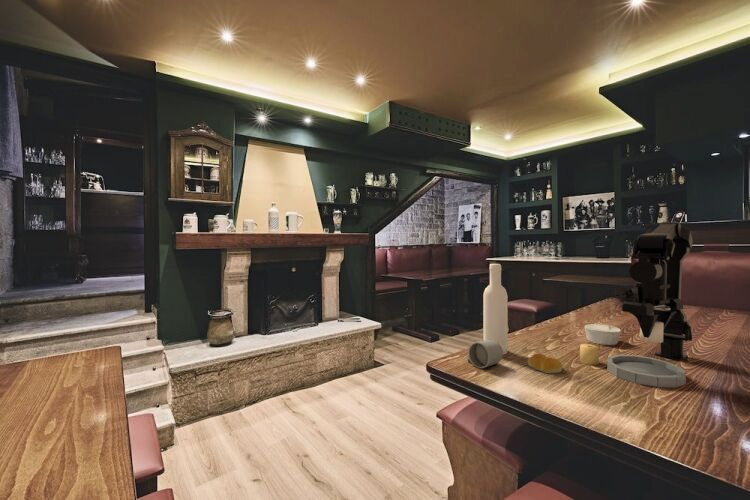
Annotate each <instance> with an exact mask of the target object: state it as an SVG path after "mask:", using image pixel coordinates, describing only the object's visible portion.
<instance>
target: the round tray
mask: <svg viewBox="0 0 750 500" xmlns="http://www.w3.org/2000/svg"><path fill="white" fill-rule="evenodd" d="M606 360H607V361H606V362H607V364H606V366H607V367H606V370H607V372H608V373H610V374H612V375H613V376H615V377H616V378H618V379H623V380H625V381H628V382H631V383H634V384H640V385H645V386H649V387H653V388H654V387H656V388H679V387H682V386H684V385H686V384H687V374H686V371H685V370H684V368H683V367H680V366H678V365H676V364H674V363H671V362H670V361H666V360H661V359H658V358H654V357H649V356H643V355H636V354H615V355H611V356H608V357H607V359H606Z"/></svg>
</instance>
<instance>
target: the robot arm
mask: <svg viewBox="0 0 750 500" xmlns="http://www.w3.org/2000/svg"><path fill="white" fill-rule="evenodd" d="M692 248H693V236H692V232H691V231H690V230H688V229H687V228H685V227H683V226H682V225H681V223H680V222H677V221H671V222H670V221H668V222H667V221H666V222H661V223H658V225H657V227H656V228H655V229H654V230H653V231H652V232H651V233H642V234H640V235H638V237H637V238H636V239H635V242H634V246H633V249H632V250H633V251H632V254H631V260H637V261H636V262H634V263H633V264H632V265H631V266H630V268H629V276H630V278H631V279H632V280H634V281H636V283H635V284H634V288H630V289H629V288H628V289H627V288H626V287H625V286H621V287H616V288H615V292H614V294H615V295H614V298H615V299H618V300H619V303H621V305H620V306H621V307H620V311H621V312H624V313H625V312H626V313H629V314H631V315H632V316H634V317H635V318H636V319H637V322H638V324H639V328H640V327H641V330H642V333H643V336H644V337H646V338H649V336H650V334H651V332H652V329H653V327H654V324H655V322H656V321H659V322H663V323H664V327H663V342H659V344H660V345H659V351H657V352H654V355H656V356H659V357H664V358H668V359H672V360H675V361H681V360H684V359H689V355H688V354H687V355H686V354H684V342H689V341H691V342H692V341H693V331H692V326H691V325H690V322H689V321H688V320H687V319H688V316H687V314H686V313H685V311H684V302H683V301H682V300H681V299H682V280H683V279H682V277H683V274H682V273H683V261H684V260H686V258H687V256H689V255H690V249H692Z"/></svg>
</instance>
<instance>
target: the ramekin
mask: <svg viewBox="0 0 750 500" xmlns="http://www.w3.org/2000/svg"><path fill="white" fill-rule="evenodd" d="M584 330H585V335H586V339H587V340H588V341H589V342H590V343H594V344H595V345H596V344H597V345H603V346H615V345H617V344H618V342H619V339H620V335H621V333H622V330H621V329H620V328H618V327H616V326H613V325H607V324H598V323H591V324H585V325H584Z"/></svg>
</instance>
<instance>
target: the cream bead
mask: <svg viewBox="0 0 750 500" xmlns="http://www.w3.org/2000/svg"><path fill="white" fill-rule="evenodd" d="M663 327H664V323H663V322H659V321H656V322H655V324H654V327H653V329H652V332H651V334H650V336H649V338H646V337H644V336H643V333H642V330H641V327H640V326H639V328H640V332H639V334H640V335H639V336H640V337H639V338H640V340H642V341H645V342H650V343H657V344H658V343H659V344H660V342H663Z"/></svg>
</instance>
